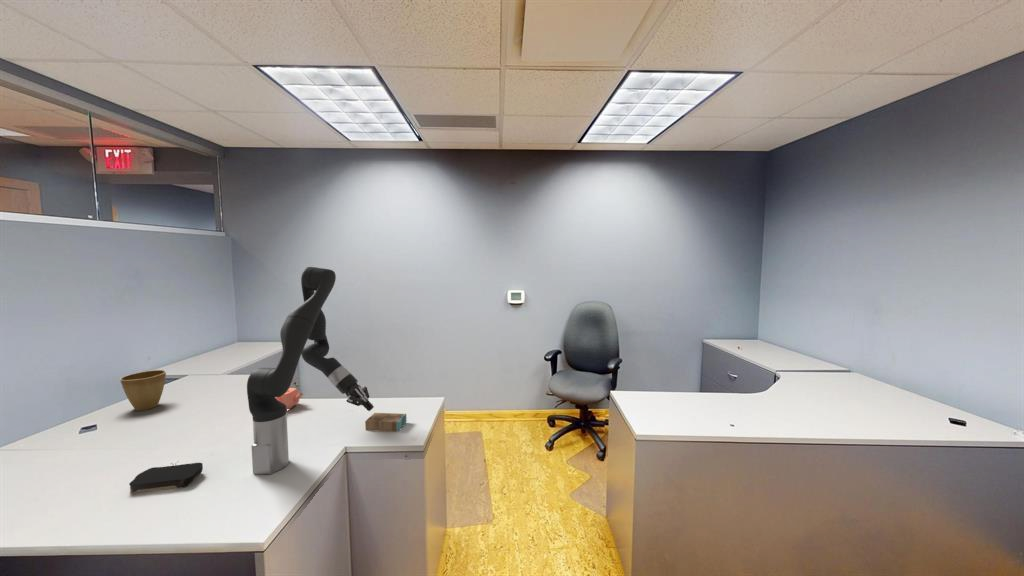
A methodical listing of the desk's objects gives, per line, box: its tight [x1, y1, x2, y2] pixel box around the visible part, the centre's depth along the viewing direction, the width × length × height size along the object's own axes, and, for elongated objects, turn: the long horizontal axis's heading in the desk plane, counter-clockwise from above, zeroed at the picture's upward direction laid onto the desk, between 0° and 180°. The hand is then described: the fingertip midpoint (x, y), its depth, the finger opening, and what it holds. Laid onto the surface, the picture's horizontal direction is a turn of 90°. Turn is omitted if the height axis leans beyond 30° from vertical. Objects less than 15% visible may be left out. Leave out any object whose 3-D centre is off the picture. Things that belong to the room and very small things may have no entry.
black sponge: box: [128, 462, 204, 495], centre depth 107 cm, size 16×8×4 cm, turn 101°
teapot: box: [275, 387, 304, 410], centre depth 163 cm, size 12×12×10 cm
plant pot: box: [119, 369, 167, 411], centre depth 164 cm, size 15×15×16 cm
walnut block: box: [364, 412, 408, 432], centre depth 144 cm, size 8×4×14 cm
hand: (371, 409), depth 144 cm, fingers closed
